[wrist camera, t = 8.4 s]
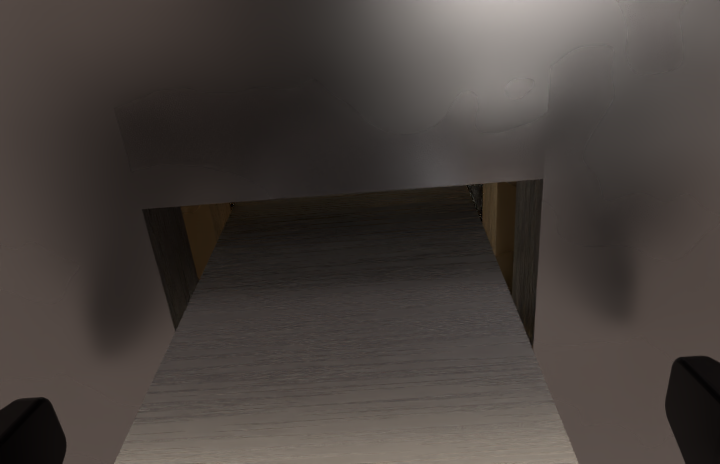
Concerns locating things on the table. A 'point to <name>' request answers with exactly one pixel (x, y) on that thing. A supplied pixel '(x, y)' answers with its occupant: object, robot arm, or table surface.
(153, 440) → the tall square pillar
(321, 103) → the slotted bridge-shaped block
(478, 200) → the table surface
